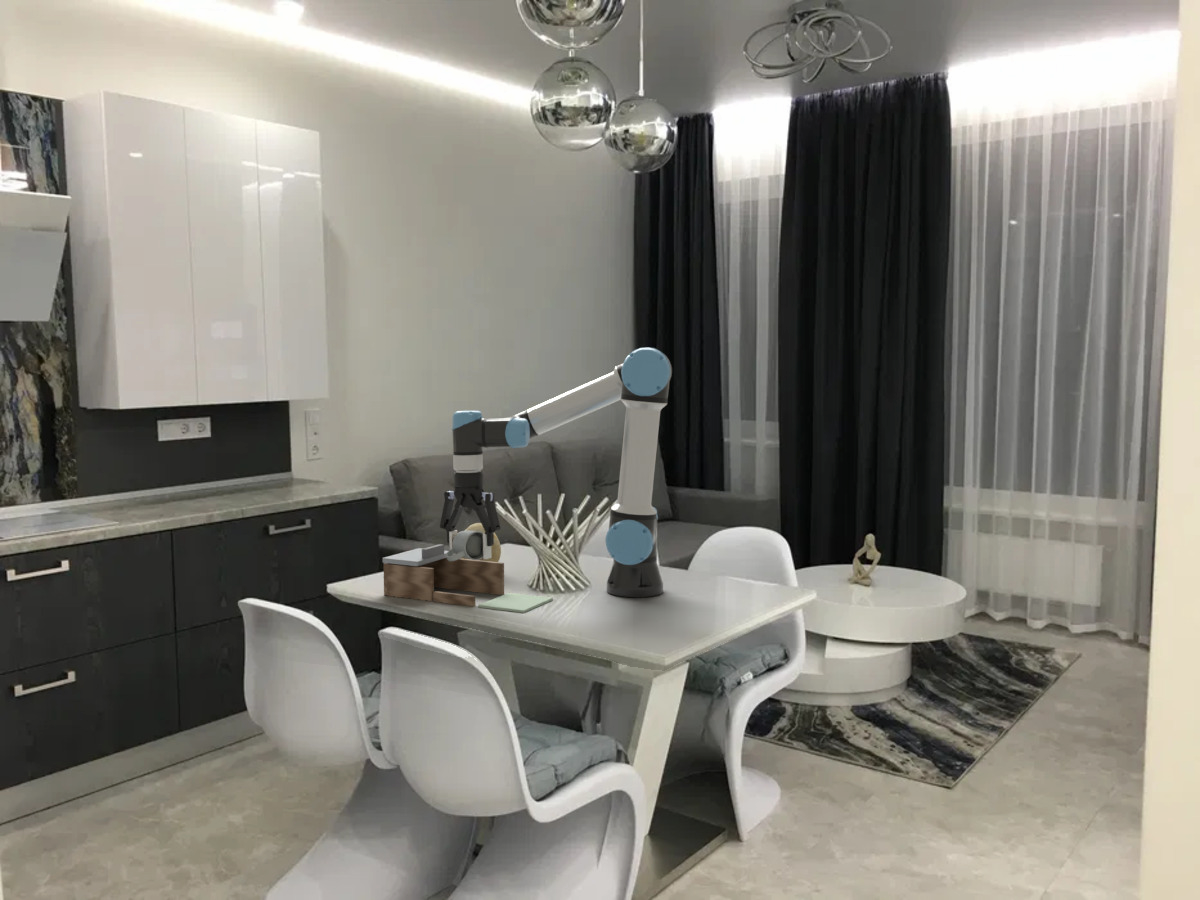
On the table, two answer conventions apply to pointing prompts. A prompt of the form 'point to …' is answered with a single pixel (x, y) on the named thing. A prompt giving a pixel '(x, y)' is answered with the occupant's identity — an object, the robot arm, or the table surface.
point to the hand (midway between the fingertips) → (470, 557)
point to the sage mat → (515, 602)
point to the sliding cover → (418, 556)
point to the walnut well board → (444, 580)
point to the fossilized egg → (494, 549)
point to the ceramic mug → (466, 546)
